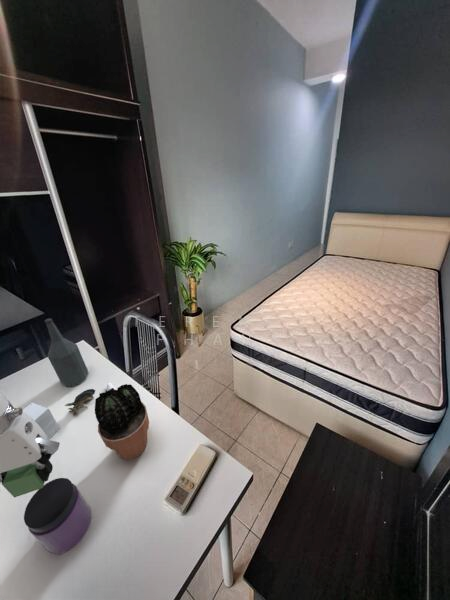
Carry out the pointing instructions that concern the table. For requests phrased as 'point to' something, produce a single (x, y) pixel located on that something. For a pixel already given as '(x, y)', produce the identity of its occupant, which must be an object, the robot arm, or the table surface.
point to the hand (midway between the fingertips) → (32, 478)
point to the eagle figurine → (81, 400)
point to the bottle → (65, 358)
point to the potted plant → (122, 421)
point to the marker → (110, 386)
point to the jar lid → (50, 505)
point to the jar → (67, 528)
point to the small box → (42, 418)
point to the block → (22, 480)
